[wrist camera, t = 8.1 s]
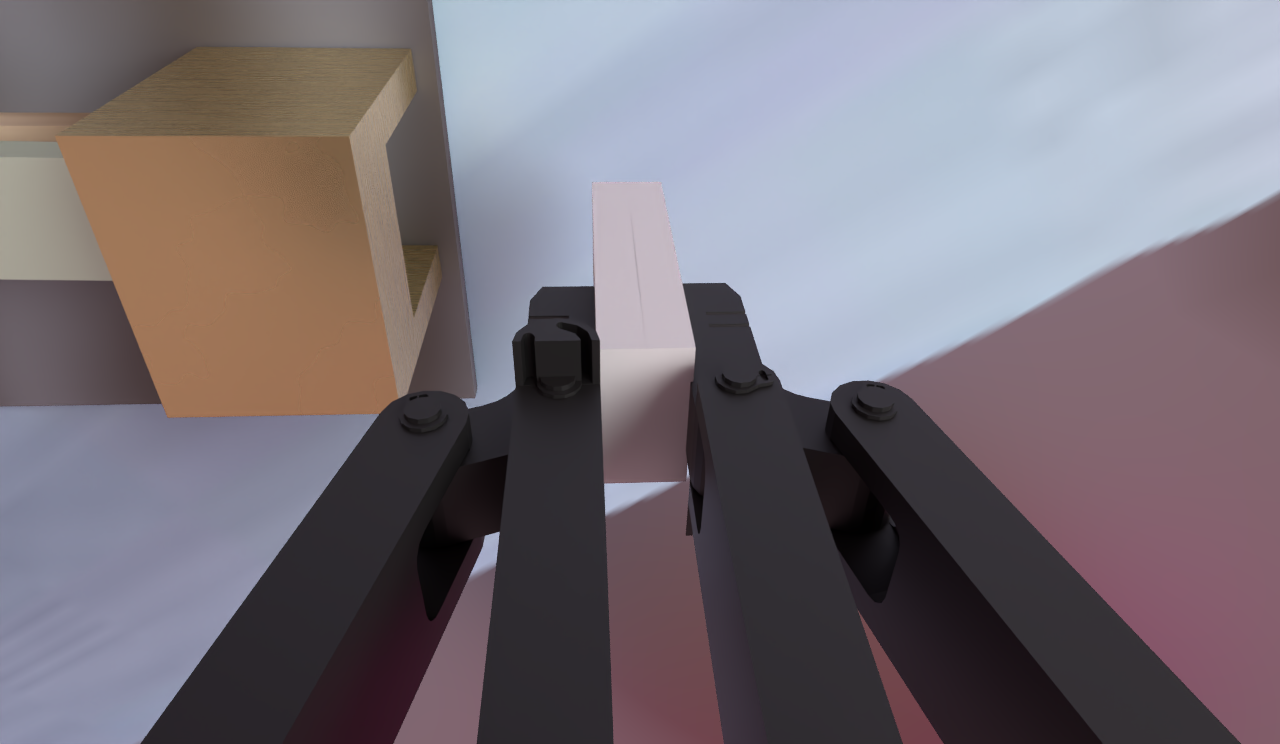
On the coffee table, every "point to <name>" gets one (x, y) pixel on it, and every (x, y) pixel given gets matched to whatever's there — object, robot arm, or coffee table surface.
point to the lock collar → (260, 229)
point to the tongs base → (133, 51)
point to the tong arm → (43, 218)
